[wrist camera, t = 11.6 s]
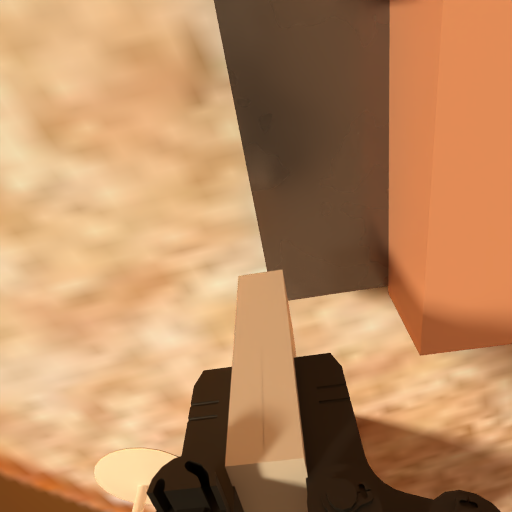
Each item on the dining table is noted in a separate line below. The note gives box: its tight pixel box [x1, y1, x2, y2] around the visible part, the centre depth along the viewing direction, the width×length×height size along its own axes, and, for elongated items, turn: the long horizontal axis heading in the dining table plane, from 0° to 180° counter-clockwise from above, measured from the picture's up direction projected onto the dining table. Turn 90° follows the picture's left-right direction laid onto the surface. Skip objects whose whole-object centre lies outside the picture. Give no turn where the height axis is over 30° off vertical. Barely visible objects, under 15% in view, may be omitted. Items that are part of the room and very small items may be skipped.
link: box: [388, 0, 512, 355], centre depth 11 cm, size 19×7×4 cm, turn 10°
